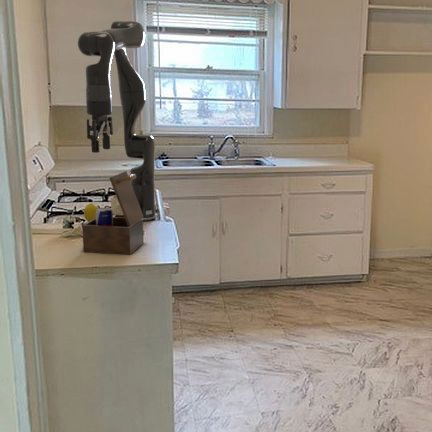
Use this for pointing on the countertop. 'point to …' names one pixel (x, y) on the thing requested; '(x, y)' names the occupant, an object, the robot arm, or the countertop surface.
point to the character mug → (116, 207)
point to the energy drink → (104, 217)
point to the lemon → (90, 212)
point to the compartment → (112, 237)
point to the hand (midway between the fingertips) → (101, 150)
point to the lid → (127, 197)
